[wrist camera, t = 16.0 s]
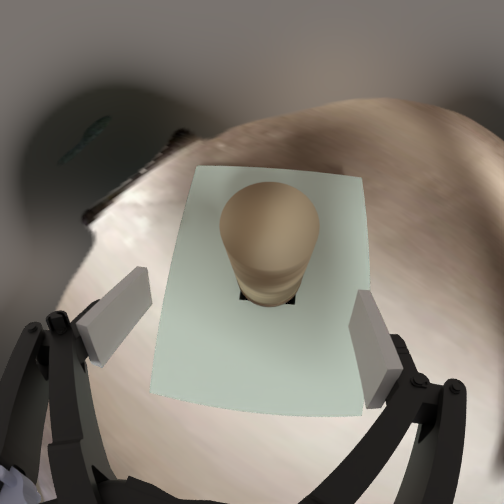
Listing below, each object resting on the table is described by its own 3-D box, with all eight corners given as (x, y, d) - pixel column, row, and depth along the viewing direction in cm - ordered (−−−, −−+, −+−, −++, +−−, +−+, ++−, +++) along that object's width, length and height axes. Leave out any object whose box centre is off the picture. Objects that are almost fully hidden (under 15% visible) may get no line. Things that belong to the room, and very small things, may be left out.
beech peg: (298, 264, 31) (320, 185, 17) (294, 317, 28) (319, 275, 15) (245, 259, 31) (227, 178, 18) (238, 312, 29) (210, 265, 15)
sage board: (351, 200, 34) (361, 177, 30) (347, 407, 24) (361, 415, 20) (204, 188, 36) (196, 165, 32) (167, 388, 26) (149, 392, 22)
